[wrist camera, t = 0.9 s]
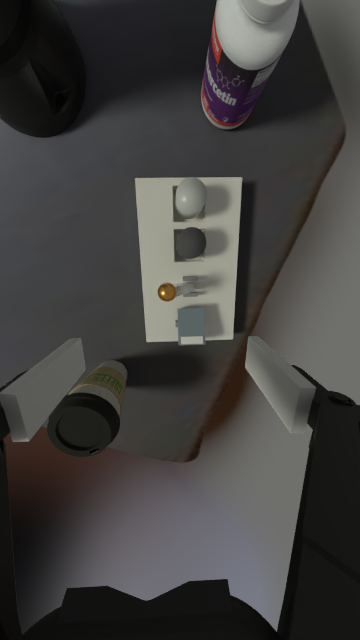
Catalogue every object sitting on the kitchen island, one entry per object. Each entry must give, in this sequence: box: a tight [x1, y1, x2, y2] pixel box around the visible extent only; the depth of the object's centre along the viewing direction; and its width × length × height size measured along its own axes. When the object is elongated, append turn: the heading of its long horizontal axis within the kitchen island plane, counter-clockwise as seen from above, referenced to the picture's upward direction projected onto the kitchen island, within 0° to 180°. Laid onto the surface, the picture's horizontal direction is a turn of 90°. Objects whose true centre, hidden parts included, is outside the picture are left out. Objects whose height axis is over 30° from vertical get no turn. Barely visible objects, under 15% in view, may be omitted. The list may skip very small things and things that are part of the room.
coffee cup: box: [47, 360, 127, 457], centre depth 34 cm, size 10×10×15 cm
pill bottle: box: [201, 0, 300, 129], centre depth 23 cm, size 8×8×14 cm
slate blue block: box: [177, 308, 205, 345], centre depth 33 cm, size 6×4×2 cm
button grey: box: [176, 177, 207, 219], centre depth 28 cm, size 4×4×4 cm
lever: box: [158, 282, 195, 302], centre depth 29 cm, size 3×3×9 cm
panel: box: [135, 177, 242, 342], centre depth 34 cm, size 26×16×5 cm, turn 1°
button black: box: [176, 227, 206, 259], centre depth 30 cm, size 4×4×4 cm
